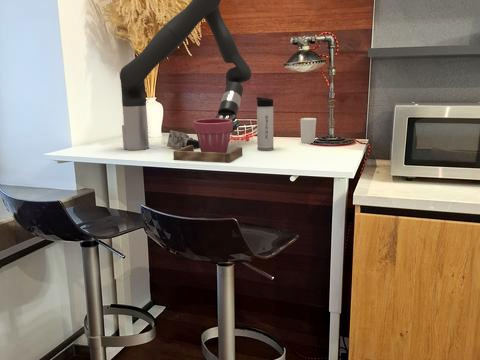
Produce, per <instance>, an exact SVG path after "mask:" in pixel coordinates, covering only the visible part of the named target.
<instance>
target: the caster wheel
mask: <svg viewBox="0 0 480 360" xmlns="http://www.w3.org/2000/svg"><path fill="white" fill-rule="evenodd" d="M189 145H193V146H194V149H200V146H199V142H198V139H195V138H193V137H190V136H189V135H188V134H187V133H185V132H180V131H176V130H171V129H170V130H169V134H168V140H167V144H166V147H168V148H172V149H175V150H178V149H181V148H184V147H186V146H189Z"/></svg>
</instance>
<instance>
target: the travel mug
mask: <svg viewBox="0 0 480 360" xmlns="http://www.w3.org/2000/svg"><path fill="white" fill-rule="evenodd" d="M255 99H256V104H257V105H256V119H257V120H256V125H257V127H256V129H257V130H256V131H257V134H256V135H257V137H256V138H257V139H256V140H257V143H256V144H257V145H256V147H257V150H258V151H261V152H265V151H266V152H269V151H270V152H271V151H273V150H274V99H273V98H268V97H267V98H265V97H260V96H258V97H256V98H255Z"/></svg>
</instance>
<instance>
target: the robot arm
mask: <svg viewBox="0 0 480 360" xmlns="http://www.w3.org/2000/svg"><path fill="white" fill-rule="evenodd" d="M221 1H222V0H191V1H190V2H189V3H188V5H186V7H185V8H183V10H181V11H180V12H179V13H176V15H175V16H174V17H173V16H172V18H170V20H169V21H167V22H166V23H165V24H164V25H163V26H162V27H161V28H160V29H159V30H158V31H157V32H156V34H155V35H154V36H153V37H152V39H150V41H149V42H148V44H146V46H145V48H143V50H142V51H141V52H140V53H139V54H138V55H136V57H134V59H132V60H131V61H130V62H128V63H127V64H125V65H124V66H123V67H122V68H121V70H120V72H119V80H120V88H121V89H120V90H121V104H122V105H121V106H122V107H121V108H122V118H123V124H122V126H121V131H122V132H121V133H122V144H123V149H124V150H128V151H142V150H147V149H149V148H150V142H149V131H148V130H149V129H148V115H147V114H148V113H147V94H146V84H145V80H146V78H147V77H148V76H149V75H150V74H151V72H152V71H154V69H155V68H156V66H158V65H159V64H160V63H161V62H163V61H164V60H165V59H167V58H168V57H169V56H170V55H171V54H173V53H174V52H175V51H176V50H177V49H178V48H179V47H180V46H181V44H183V42H185V40H186V39H187V38H188V37H189V36H190V35H191V34H192V32H193V31H194V30H195V28H196V27H197V26H198V25H199V24H200V22H201V21H203V19H205V20H206V23H207V25H208V26H209V29H210V31H211V33H212V35H213V38H214V40H215V42H216V45H217V48H218V50H219V52H220V55H221V58H222V60H223V62H224V63H226V64H233V65H234V67H231V68H229V69H228V70H227V71H226V73H225V89H224V92H223V96H222V97H221V101H220V103H219V107H218V110H217V115H216V116H215V117H214V118H218V119H230V120H232V121H233V130H232V131H231V132H230V135H231V134H232V133H233V132H234V131H236V130H237V129H238V128H239V127H240V126H241V122H240V120H239V119H237V116H238V113H239V109H240V107H241V99H242V96H243V93H244V87H243V86H244V85H242V83H246V82H248V81H250V80H251V78H252V70H251V67H250V66H249V64H248V63H247V62H246V60H245V59H244V58H243V56H242V55H241V54H240V52H239V50H238V49H239V48H238V47H237V44H236V41H235V39H234V37H233V35H232V33H231V32H230V30H229V28H228V27H227V25H226V23H225V20H224V19H223V16H222V15H221V11H220V7H219V6H220V4H221Z"/></svg>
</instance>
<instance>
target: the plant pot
mask: <svg viewBox="0 0 480 360" xmlns="http://www.w3.org/2000/svg"><path fill="white" fill-rule="evenodd" d="M232 130H233V121H232V120H230V119H218V118H215V117H214V118H212V117H211V118H201V119H196V120H194V121H193V131H194V132H195V133H196V137H197V140H198V142H199V146H200V148H199V150H200V152H216V153H228V148H229V143H230V137H231V134H230V132H231V131H232Z"/></svg>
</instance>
